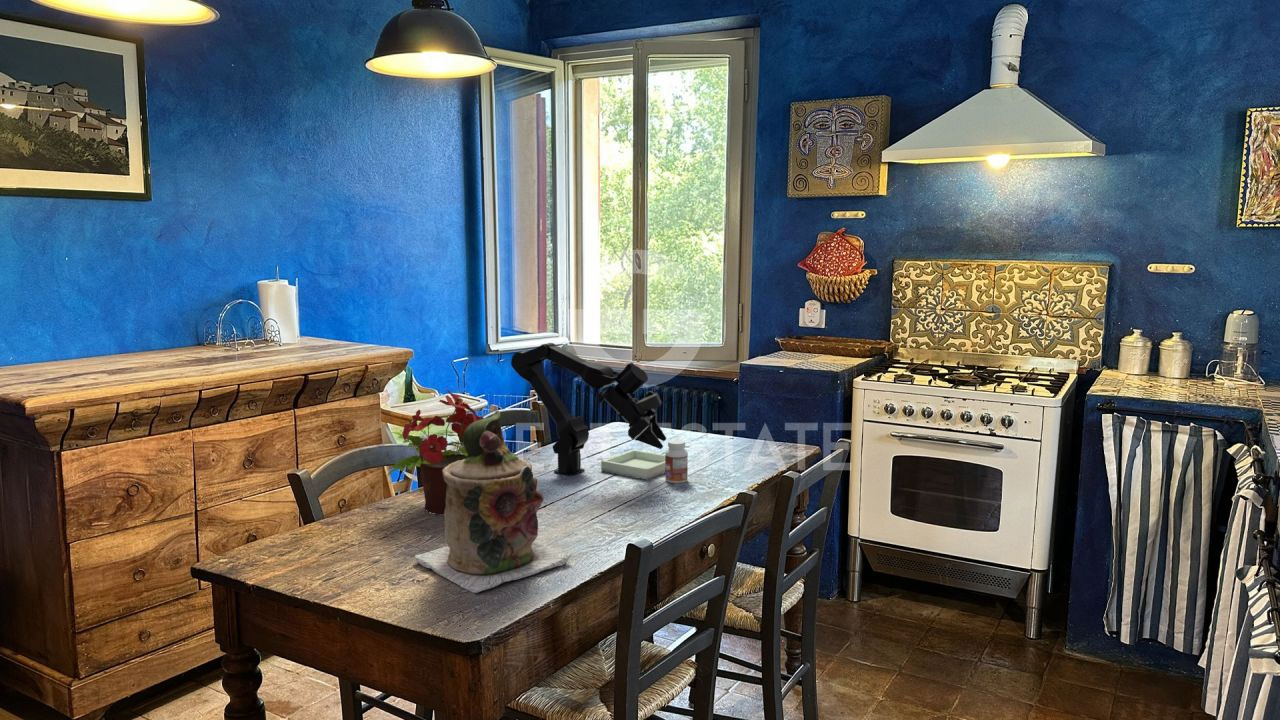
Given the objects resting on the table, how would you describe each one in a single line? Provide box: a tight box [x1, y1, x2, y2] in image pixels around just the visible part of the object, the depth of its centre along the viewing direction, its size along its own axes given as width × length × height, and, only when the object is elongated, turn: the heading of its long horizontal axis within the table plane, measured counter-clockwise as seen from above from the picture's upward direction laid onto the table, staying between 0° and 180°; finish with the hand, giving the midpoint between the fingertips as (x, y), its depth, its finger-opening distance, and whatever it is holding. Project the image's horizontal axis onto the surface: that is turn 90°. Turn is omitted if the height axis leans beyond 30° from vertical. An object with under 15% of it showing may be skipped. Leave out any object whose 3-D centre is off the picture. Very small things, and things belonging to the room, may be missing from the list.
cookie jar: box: [414, 410, 573, 594], centre depth 184 cm, size 25×25×32 cm
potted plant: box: [386, 388, 485, 515], centre depth 224 cm, size 30×27×30 cm
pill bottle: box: [664, 439, 689, 484], centre depth 245 cm, size 6×6×11 cm
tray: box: [600, 449, 665, 481], centre depth 258 cm, size 16×16×3 cm
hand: (663, 443), depth 245 cm, fingers open, 9 cm apart
